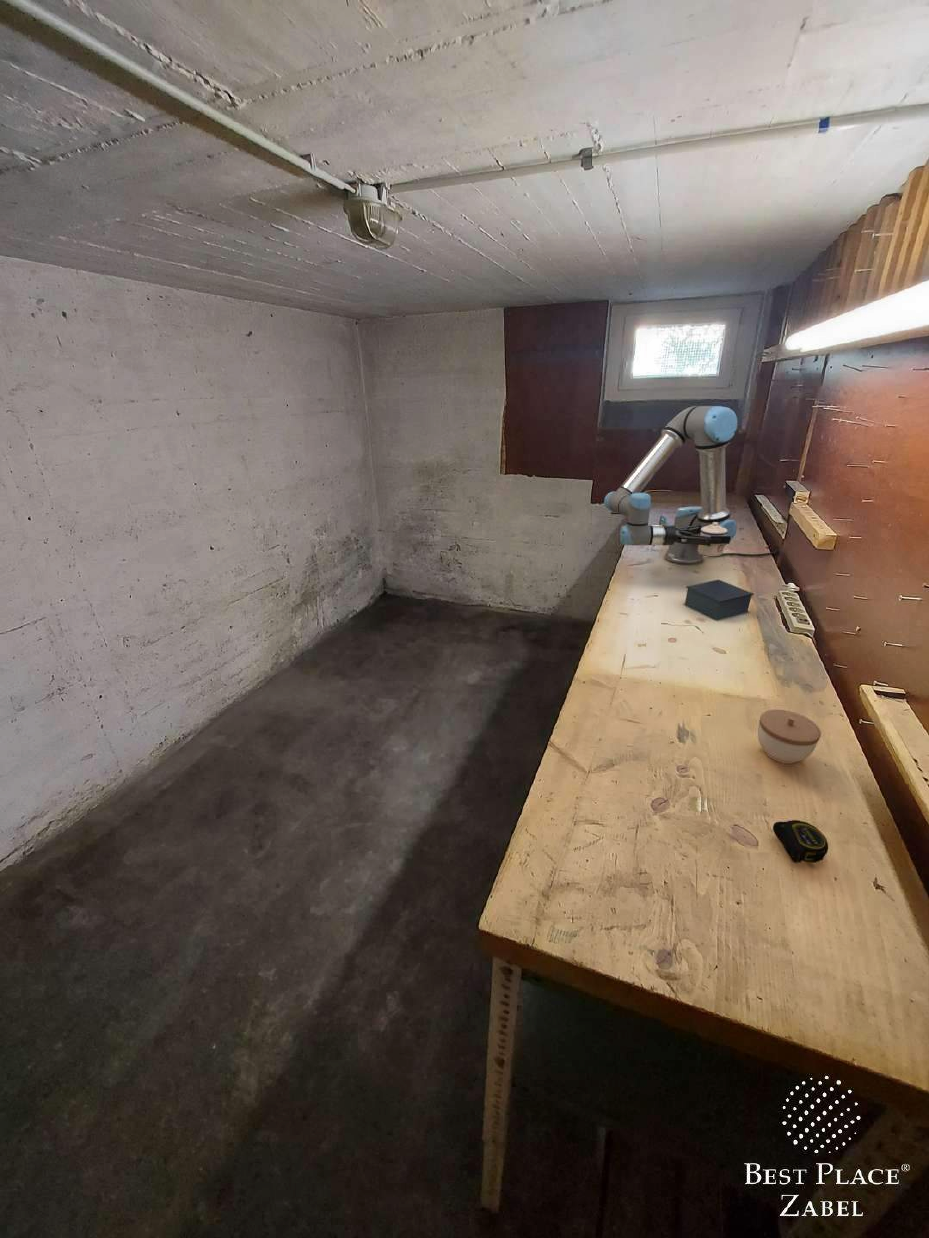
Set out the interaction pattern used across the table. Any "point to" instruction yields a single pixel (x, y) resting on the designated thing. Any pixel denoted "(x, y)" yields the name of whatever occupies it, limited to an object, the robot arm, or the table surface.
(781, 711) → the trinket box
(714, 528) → the teacup with lid
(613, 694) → the table surface
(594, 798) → the table surface
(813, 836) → the tape measure
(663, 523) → the label tape box
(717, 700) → the table surface
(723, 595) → the storage box
